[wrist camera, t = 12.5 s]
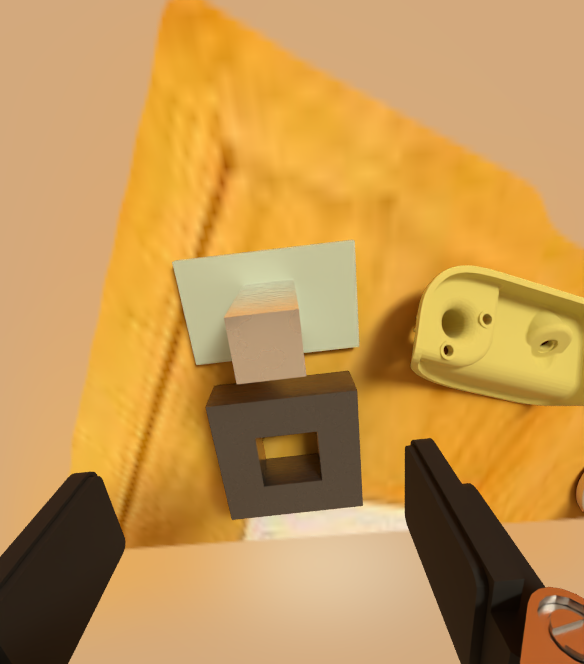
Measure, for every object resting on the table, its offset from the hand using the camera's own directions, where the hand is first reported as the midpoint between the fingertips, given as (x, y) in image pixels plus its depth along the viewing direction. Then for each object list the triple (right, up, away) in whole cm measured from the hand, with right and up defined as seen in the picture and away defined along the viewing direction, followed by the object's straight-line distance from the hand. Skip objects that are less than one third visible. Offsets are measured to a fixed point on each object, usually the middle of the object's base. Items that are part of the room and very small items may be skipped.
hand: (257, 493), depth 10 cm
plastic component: (+20, +5, +23) cm, 31 cm away
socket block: (+1, -6, +26) cm, 27 cm away
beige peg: (-1, +7, +20) cm, 21 cm away
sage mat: (-1, +8, +21) cm, 22 cm away
